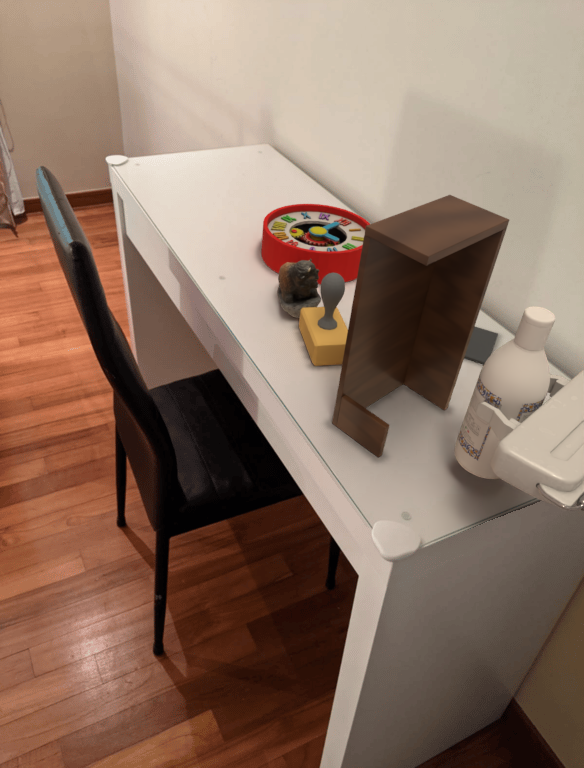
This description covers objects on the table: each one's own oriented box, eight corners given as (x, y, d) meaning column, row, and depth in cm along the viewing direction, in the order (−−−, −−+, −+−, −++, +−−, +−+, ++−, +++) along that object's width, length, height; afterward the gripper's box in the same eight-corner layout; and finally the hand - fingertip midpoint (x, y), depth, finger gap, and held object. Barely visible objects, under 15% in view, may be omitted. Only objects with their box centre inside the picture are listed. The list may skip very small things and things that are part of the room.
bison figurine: (271, 285, 103) (275, 230, 97) (312, 286, 104) (319, 231, 98) (280, 326, 94) (284, 267, 87) (324, 325, 95) (333, 268, 89)
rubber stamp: (351, 364, 88) (364, 292, 80) (312, 366, 87) (322, 293, 79) (334, 325, 95) (344, 255, 88) (298, 326, 94) (305, 256, 86)
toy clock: (239, 222, 107) (312, 195, 120) (238, 252, 111) (309, 223, 123) (327, 265, 98) (396, 230, 110) (323, 297, 101) (390, 260, 114)
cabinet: (447, 407, 82) (510, 219, 65) (378, 457, 74) (428, 256, 57) (402, 379, 86) (449, 194, 69) (331, 423, 78) (365, 225, 61)
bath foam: (514, 447, 73) (576, 304, 60) (511, 488, 68) (579, 341, 55) (456, 431, 74) (505, 288, 62) (449, 470, 69) (501, 323, 57)
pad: (497, 335, 97) (498, 333, 97) (487, 365, 90) (487, 363, 90) (442, 318, 99) (443, 316, 99) (428, 346, 93) (428, 344, 93)
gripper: (566, 541, 54) (438, 454, 61) (653, 438, 66) (538, 375, 73) (594, 495, 50) (454, 407, 57) (682, 394, 62) (556, 332, 69)
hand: (502, 389), depth 65 cm, fingers closed on bath foam, 7 cm apart
